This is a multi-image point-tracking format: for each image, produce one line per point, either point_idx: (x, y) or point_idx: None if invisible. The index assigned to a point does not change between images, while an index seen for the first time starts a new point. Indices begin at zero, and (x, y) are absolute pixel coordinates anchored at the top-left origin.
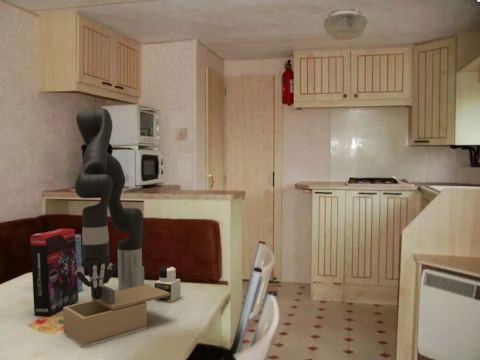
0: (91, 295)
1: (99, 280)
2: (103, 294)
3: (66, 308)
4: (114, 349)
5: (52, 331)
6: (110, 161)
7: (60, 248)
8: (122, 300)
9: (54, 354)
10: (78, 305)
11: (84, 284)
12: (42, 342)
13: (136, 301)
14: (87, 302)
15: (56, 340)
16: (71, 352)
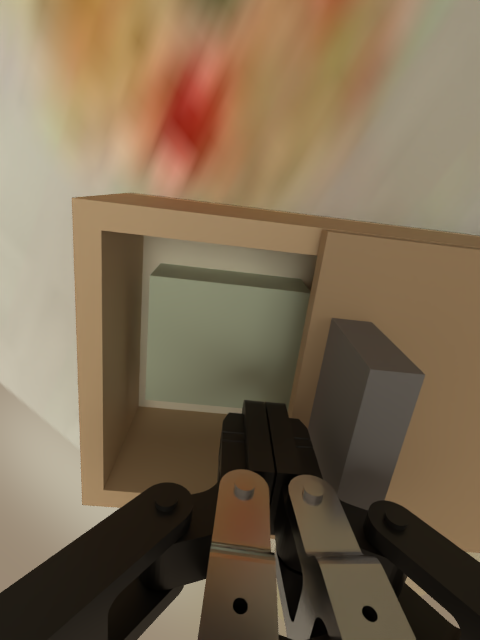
0: (222, 428)
1: (286, 617)
2: (324, 439)
3: (78, 256)
4: None
5: (95, 103)
6: None
7: None
8: (398, 480)
9: (13, 383)
10: (191, 240)
11: (142, 495)
12: (4, 220)
13: None
14: (268, 248)
15: (67, 252)
16: (72, 413)
